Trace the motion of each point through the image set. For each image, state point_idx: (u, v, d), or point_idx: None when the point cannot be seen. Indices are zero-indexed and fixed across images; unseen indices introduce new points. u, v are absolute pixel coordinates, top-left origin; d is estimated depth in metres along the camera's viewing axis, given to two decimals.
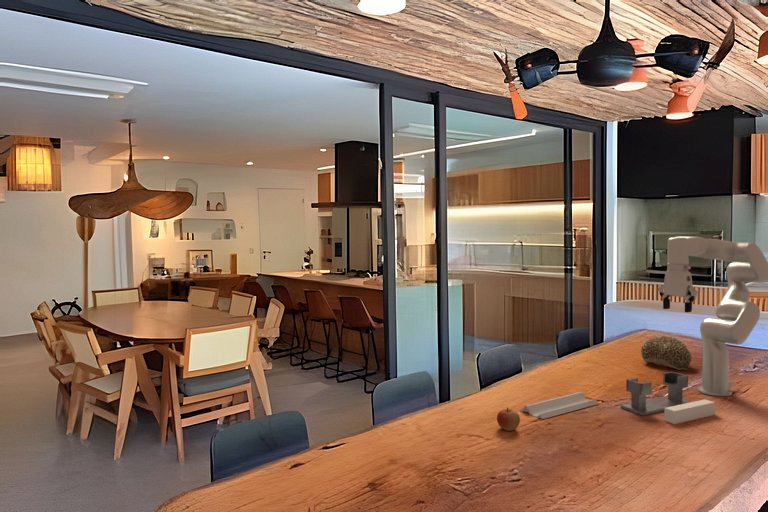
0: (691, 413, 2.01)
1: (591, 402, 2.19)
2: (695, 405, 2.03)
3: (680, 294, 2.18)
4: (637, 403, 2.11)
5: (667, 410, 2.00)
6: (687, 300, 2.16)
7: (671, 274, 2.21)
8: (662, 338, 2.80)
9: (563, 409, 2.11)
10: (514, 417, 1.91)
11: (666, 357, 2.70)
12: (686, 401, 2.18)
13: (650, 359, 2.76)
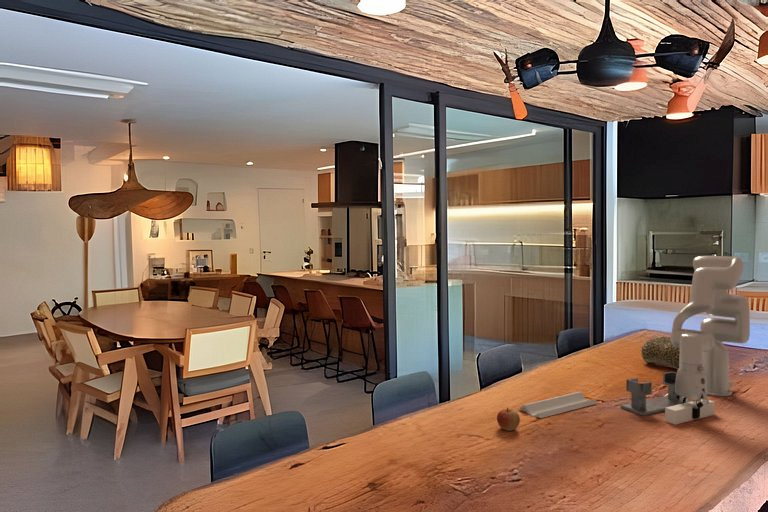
0: (691, 412, 2.01)
1: (590, 402, 2.19)
2: None
3: (693, 397, 2.00)
4: (637, 403, 2.11)
5: (668, 410, 1.99)
6: (695, 406, 2.00)
7: (684, 374, 2.03)
8: (662, 338, 2.80)
9: (561, 408, 2.11)
10: (514, 417, 1.91)
11: (667, 357, 2.70)
12: None
13: (651, 359, 2.75)
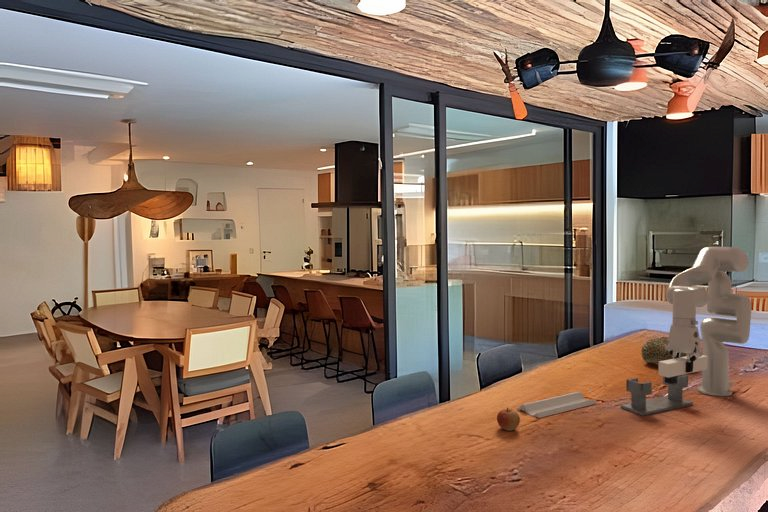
0: (685, 366, 2.03)
1: (589, 402, 2.19)
2: None
3: (687, 351, 2.02)
4: (637, 403, 2.11)
5: (661, 363, 2.02)
6: (688, 360, 2.02)
7: (677, 329, 2.05)
8: (662, 338, 2.79)
9: (560, 408, 2.12)
10: (514, 417, 1.91)
11: (667, 357, 2.69)
12: (686, 401, 2.18)
13: (651, 360, 2.75)
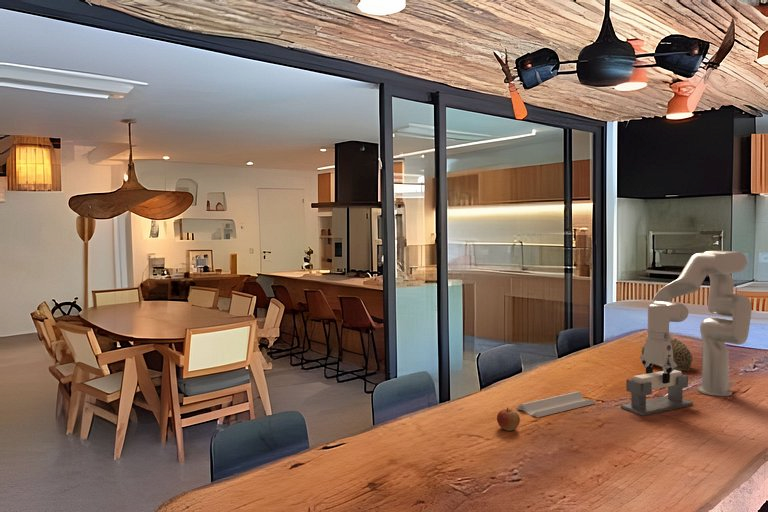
0: (658, 381, 2.14)
1: (588, 401, 2.20)
2: (662, 374, 2.15)
3: (660, 363, 2.12)
4: (637, 403, 2.11)
5: (635, 378, 2.12)
6: (665, 371, 2.11)
7: (651, 342, 2.15)
8: None
9: (559, 408, 2.12)
10: (514, 417, 1.91)
11: None
12: (686, 401, 2.18)
13: None
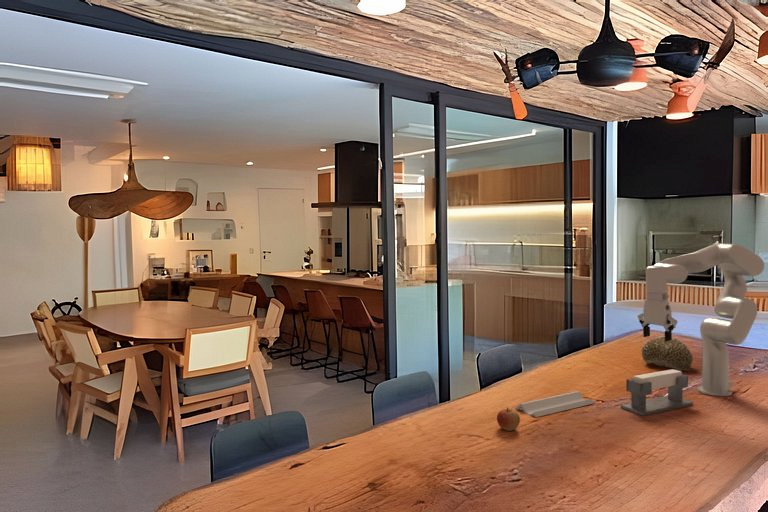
0: (658, 381, 2.14)
1: (587, 401, 2.20)
2: (662, 374, 2.15)
3: (660, 323, 2.19)
4: (637, 403, 2.11)
5: (635, 378, 2.12)
6: (667, 329, 2.17)
7: (650, 303, 2.21)
8: (662, 339, 2.78)
9: (558, 408, 2.12)
10: (514, 417, 1.91)
11: (668, 358, 2.69)
12: (686, 401, 2.18)
13: (652, 360, 2.74)
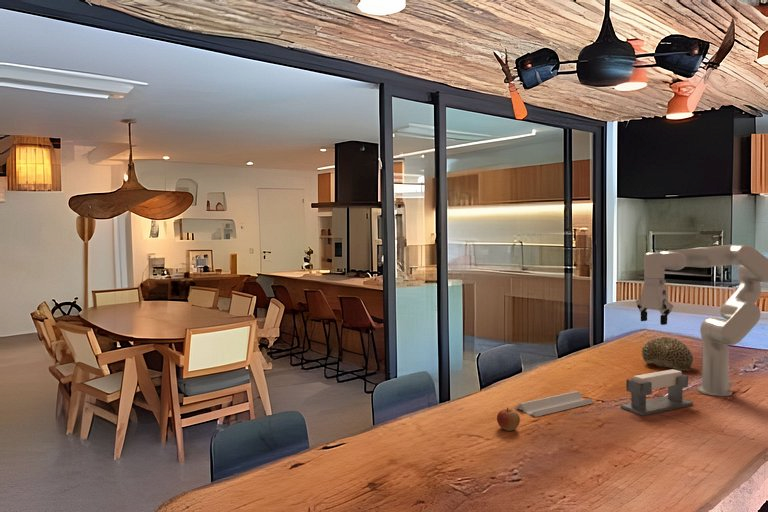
0: (658, 381, 2.14)
1: (587, 401, 2.20)
2: (662, 374, 2.15)
3: (656, 307, 2.27)
4: (637, 403, 2.11)
5: (635, 378, 2.12)
6: (662, 313, 2.25)
7: (648, 288, 2.30)
8: (663, 339, 2.78)
9: (557, 407, 2.13)
10: (514, 417, 1.91)
11: (669, 358, 2.68)
12: (686, 401, 2.18)
13: (652, 360, 2.73)
